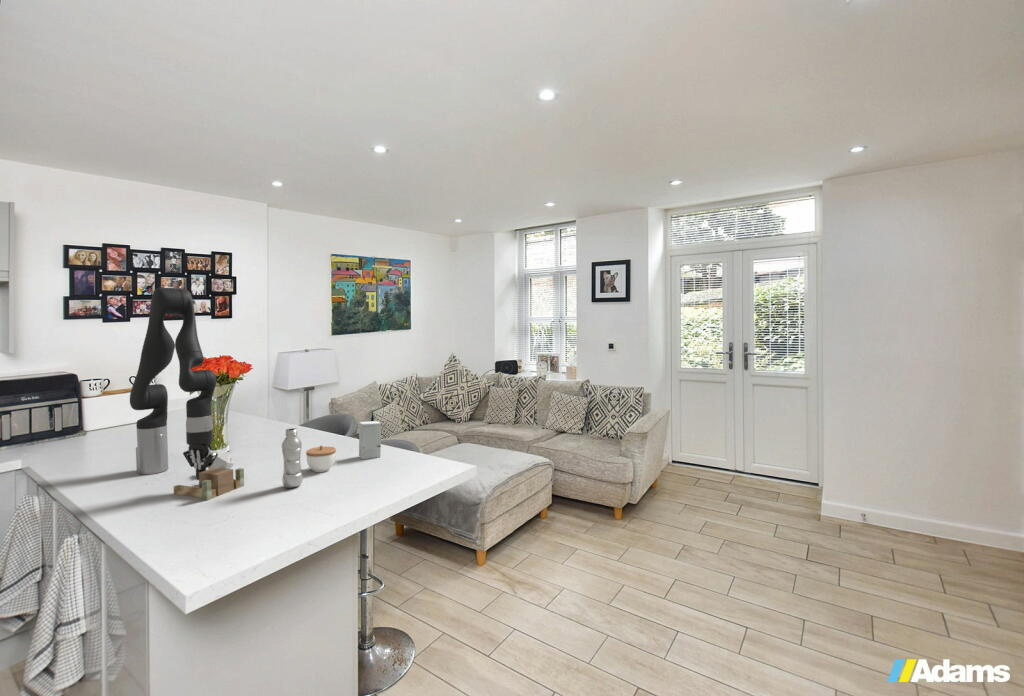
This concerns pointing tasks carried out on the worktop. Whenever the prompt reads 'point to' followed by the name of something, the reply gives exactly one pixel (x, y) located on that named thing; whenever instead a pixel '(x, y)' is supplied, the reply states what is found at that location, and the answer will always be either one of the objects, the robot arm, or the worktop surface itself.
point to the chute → (208, 487)
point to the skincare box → (369, 439)
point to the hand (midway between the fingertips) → (201, 479)
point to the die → (223, 461)
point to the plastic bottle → (292, 459)
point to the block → (218, 479)
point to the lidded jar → (321, 458)
